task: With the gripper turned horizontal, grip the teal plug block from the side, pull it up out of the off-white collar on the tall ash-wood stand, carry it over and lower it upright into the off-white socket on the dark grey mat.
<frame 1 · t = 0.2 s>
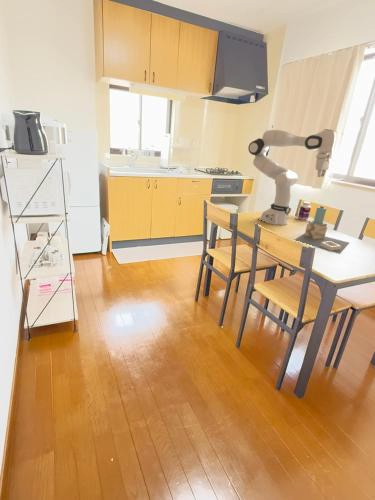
hand: (320, 176, 188), 39 cm above the table, tool pointing down, fingers open, 8 cm apart
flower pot: (283, 216, 237), on the table
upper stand: (314, 236, 188), resting on mat
pill bottle: (302, 219, 232), on the table
mat: (321, 242, 179), on the table
lower socket: (330, 247, 169), resting on mat
plug block: (317, 225, 185), point 9 cm above the table, touching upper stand
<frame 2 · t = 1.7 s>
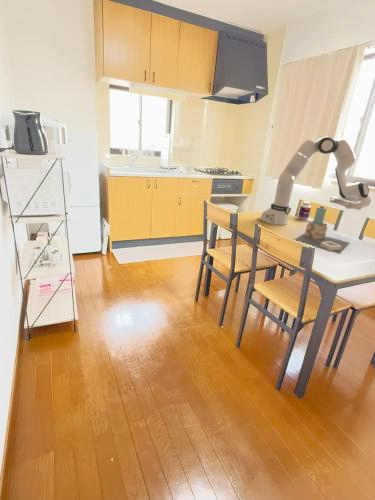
hand: (336, 202, 184), 24 cm above the table, tool horizontal, fingers open, 8 cm apart
nothing on the table moved.
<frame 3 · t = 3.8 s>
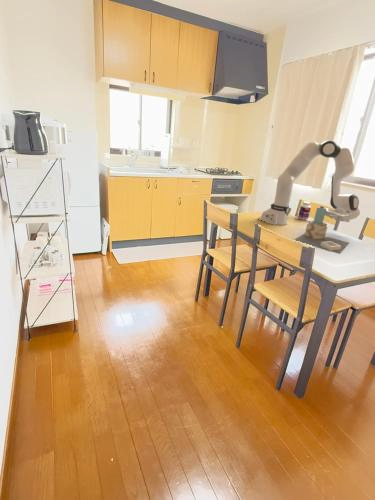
hand: (325, 214, 184), 16 cm above the table, tool horizontal, fingers open, 8 cm apart
nothing on the table moved.
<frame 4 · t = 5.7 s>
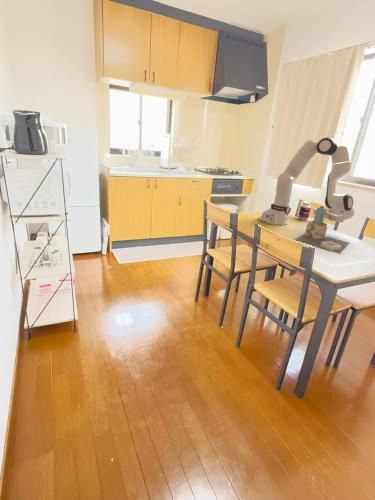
hand: (318, 215, 182), 16 cm above the table, tool horizontal, fingers closed on plug block, 4 cm apart
plug block: (317, 225, 185), point 9 cm above the table, touching gripper, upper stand
everything else where it was.
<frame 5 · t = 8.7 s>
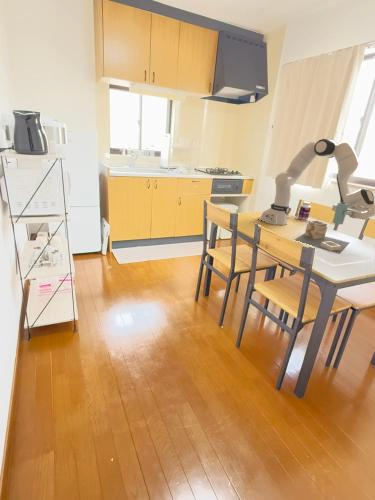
hand: (339, 211, 160), 24 cm above the table, tool horizontal, fingers closed on plug block, 4 cm apart
plug block: (337, 223, 163), point 16 cm above the table, touching gripper
everything else where it was.
when the fingers open (9 cm above the table, at t = 11.6 s): plug block drops 1 cm, resting on mat.
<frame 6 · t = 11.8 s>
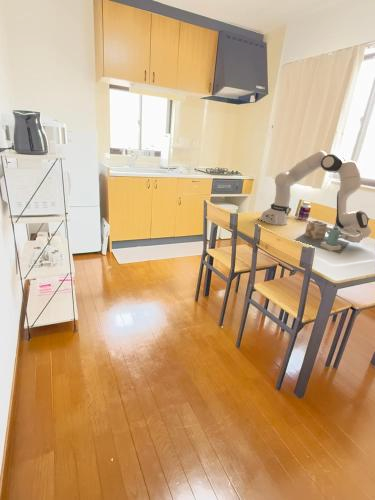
hand: (333, 234, 166), 9 cm above the table, tool horizontal, fingers open, 6 cm apart
plug block: (330, 247, 170), point 1 cm above the table, touching mat
everything else where it was.
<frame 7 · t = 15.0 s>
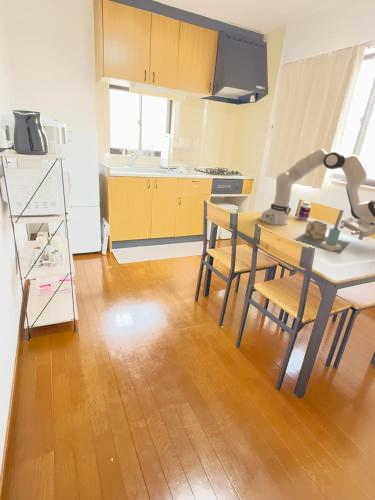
hand: (346, 230, 173), 10 cm above the table, tool horizontal, fingers open, 8 cm apart
nothing on the table moved.
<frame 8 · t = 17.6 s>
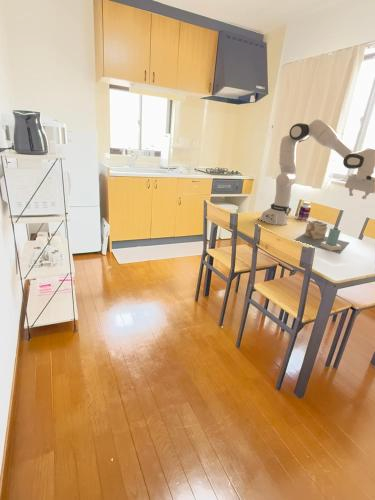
hand: (357, 197, 179), 29 cm above the table, tool pointing down, fingers open, 8 cm apart
nothing on the table moved.
at the end: plug block 0.1 cm off-centre on the lower socket, point 0.0 cm above the lower socket's base; plug block tilted 0°; the gripper is holding nothing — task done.
